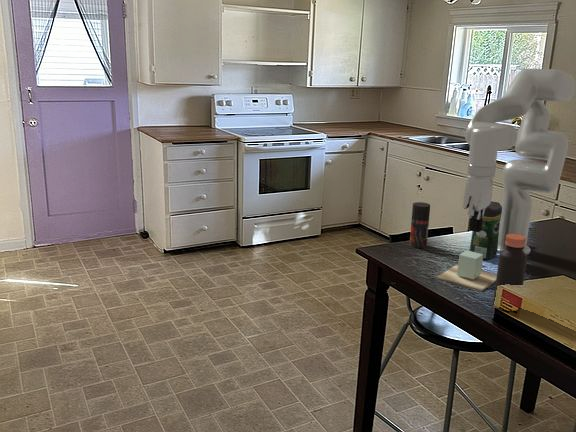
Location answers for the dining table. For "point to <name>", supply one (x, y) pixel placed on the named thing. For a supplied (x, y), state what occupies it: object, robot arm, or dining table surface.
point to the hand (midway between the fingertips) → (475, 230)
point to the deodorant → (419, 225)
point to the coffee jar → (488, 232)
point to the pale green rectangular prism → (470, 264)
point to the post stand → (477, 283)
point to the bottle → (512, 262)
